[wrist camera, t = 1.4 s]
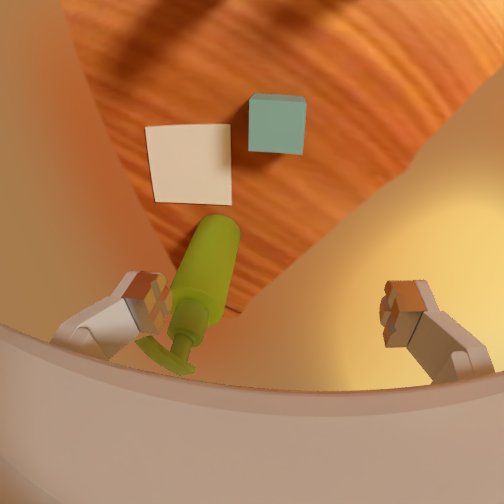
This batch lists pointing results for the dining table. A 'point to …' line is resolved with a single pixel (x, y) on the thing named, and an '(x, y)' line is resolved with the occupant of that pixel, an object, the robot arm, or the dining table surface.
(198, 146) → the coaster
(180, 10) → the dining table surface
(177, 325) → the soap dispenser
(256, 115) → the block
